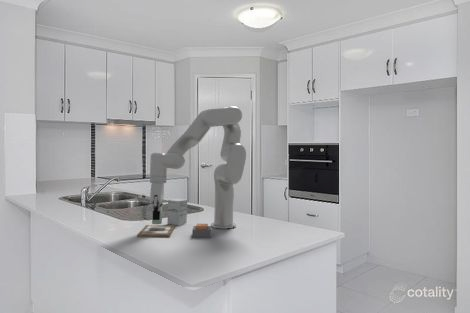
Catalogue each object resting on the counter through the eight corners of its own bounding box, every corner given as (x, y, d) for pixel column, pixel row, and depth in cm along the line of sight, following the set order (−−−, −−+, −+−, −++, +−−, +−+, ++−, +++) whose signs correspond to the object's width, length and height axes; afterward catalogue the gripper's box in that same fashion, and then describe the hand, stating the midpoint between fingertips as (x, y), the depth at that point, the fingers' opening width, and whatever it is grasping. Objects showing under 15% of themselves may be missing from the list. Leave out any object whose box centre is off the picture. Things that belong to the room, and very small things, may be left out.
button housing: (193, 233, 167) (193, 225, 167) (210, 233, 168) (211, 226, 167) (192, 237, 159) (192, 229, 159) (210, 237, 160) (210, 230, 160)
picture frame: (146, 227, 178) (146, 224, 178) (174, 227, 179) (175, 224, 179) (137, 236, 158) (137, 234, 158) (169, 237, 159) (169, 234, 159)
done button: (196, 229, 166) (196, 223, 166) (207, 229, 166) (207, 223, 166) (196, 232, 161) (196, 225, 161) (207, 232, 161) (207, 226, 161)
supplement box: (166, 224, 186) (167, 199, 186) (175, 221, 193) (176, 198, 192) (178, 225, 183) (179, 201, 182) (187, 223, 189) (187, 199, 189)
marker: (152, 222, 170) (153, 201, 170) (162, 222, 171) (163, 201, 170) (151, 224, 166) (151, 202, 166) (160, 224, 166) (161, 202, 166)
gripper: (153, 177, 176) (152, 215, 176) (146, 180, 159) (145, 222, 160) (168, 178, 177) (167, 215, 177) (163, 181, 160) (162, 222, 160)
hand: (157, 218), depth 168 cm, fingers closed on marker, 4 cm apart
